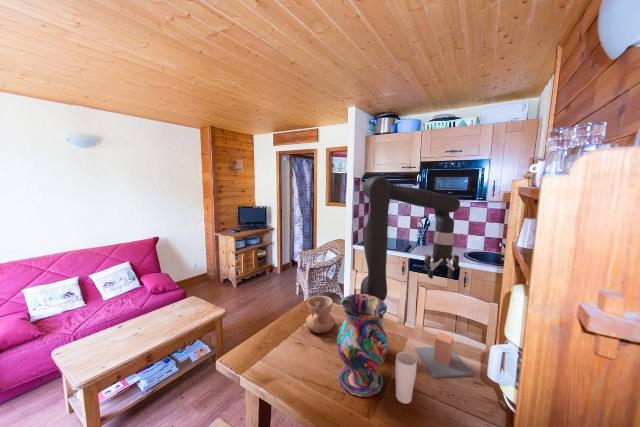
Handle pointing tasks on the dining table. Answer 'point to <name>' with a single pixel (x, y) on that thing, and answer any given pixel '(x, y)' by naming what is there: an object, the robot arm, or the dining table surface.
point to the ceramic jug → (320, 315)
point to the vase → (362, 344)
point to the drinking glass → (405, 376)
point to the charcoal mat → (439, 370)
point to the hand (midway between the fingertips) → (440, 278)
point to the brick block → (443, 349)
